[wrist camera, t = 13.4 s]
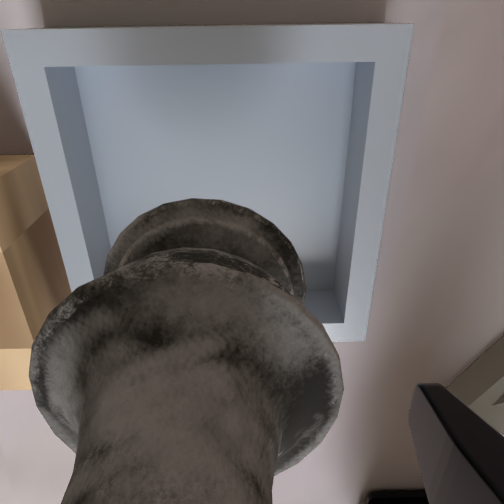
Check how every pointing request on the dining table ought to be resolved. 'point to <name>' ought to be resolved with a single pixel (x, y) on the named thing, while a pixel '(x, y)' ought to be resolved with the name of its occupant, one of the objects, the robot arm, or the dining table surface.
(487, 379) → the grey stepped plate
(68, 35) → the tray
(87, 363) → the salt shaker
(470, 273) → the dining table surface
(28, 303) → the square wooden frame
